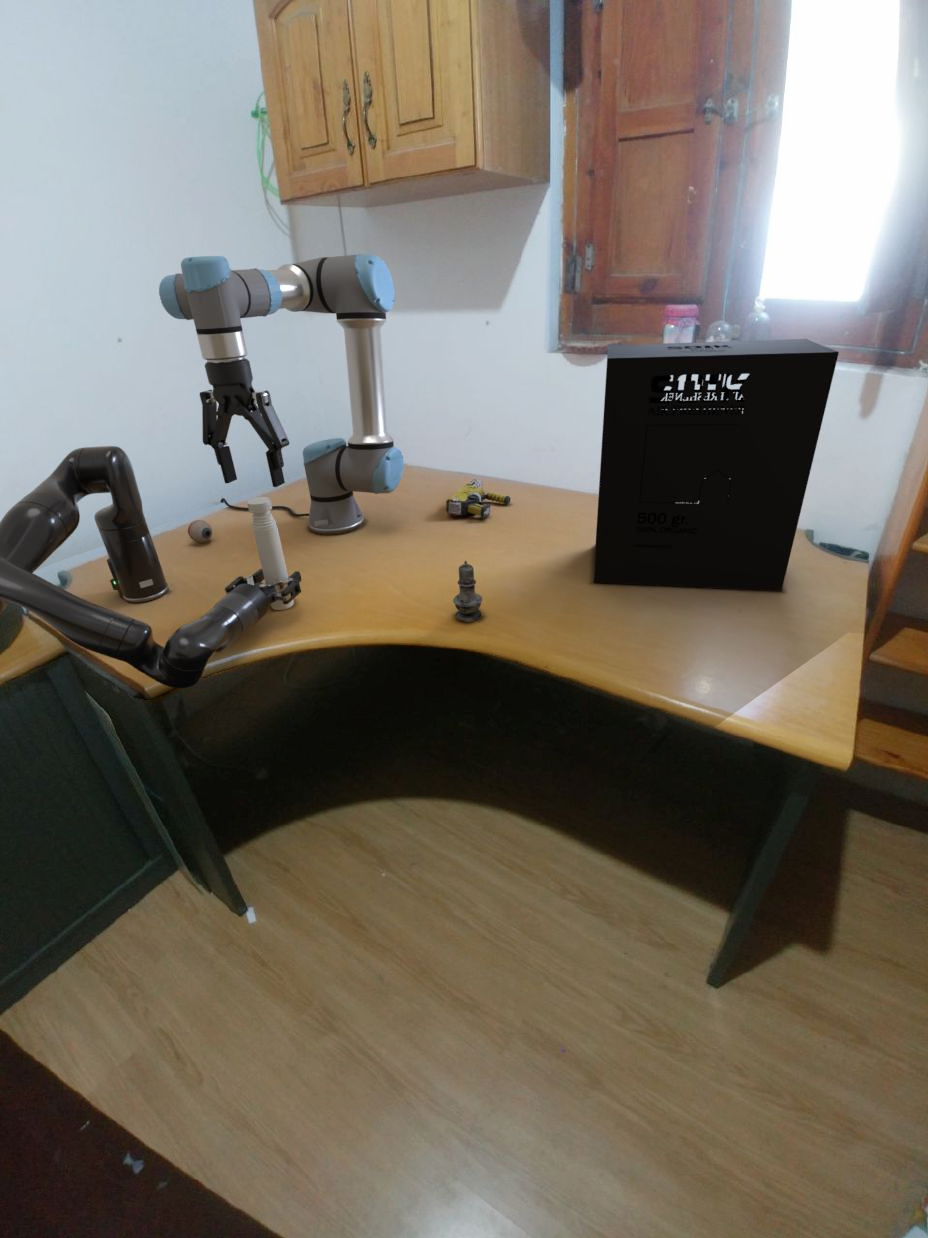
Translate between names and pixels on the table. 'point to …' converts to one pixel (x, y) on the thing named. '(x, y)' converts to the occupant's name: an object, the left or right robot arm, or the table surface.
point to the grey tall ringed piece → (467, 595)
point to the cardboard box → (707, 461)
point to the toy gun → (473, 500)
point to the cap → (259, 505)
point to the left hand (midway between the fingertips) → (281, 574)
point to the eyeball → (200, 531)
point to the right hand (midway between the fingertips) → (254, 483)
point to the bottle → (270, 553)
